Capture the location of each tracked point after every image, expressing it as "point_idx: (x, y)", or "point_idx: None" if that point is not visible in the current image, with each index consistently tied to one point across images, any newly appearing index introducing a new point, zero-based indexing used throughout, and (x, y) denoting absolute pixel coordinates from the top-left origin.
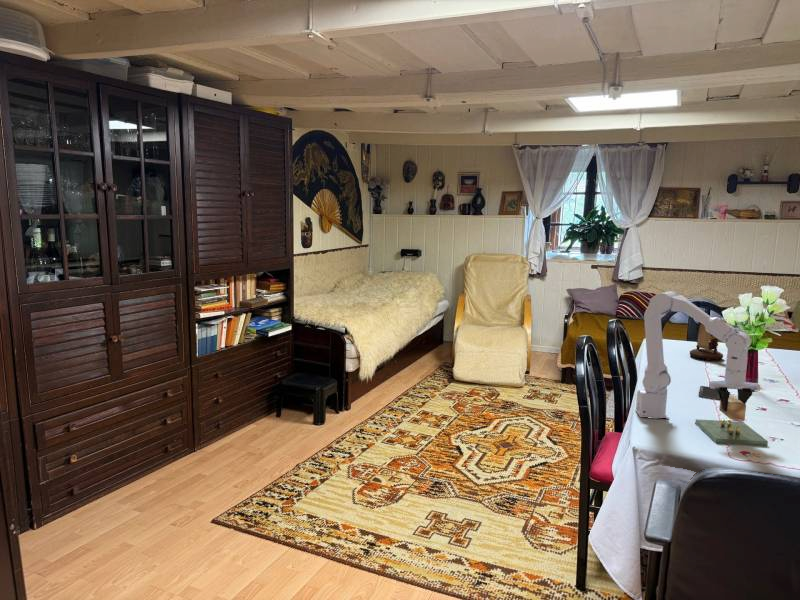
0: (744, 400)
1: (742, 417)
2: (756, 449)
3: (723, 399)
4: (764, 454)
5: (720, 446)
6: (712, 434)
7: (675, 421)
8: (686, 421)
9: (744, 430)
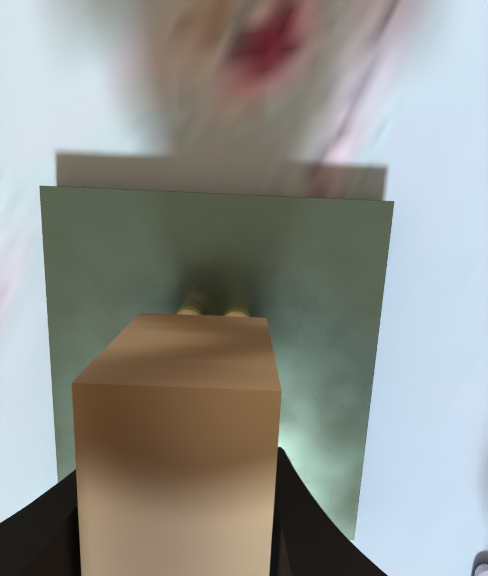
0: (32, 528)
1: (155, 321)
2: (156, 115)
3: (351, 548)
4: (141, 24)
5: (378, 143)
6: (379, 278)
7: (451, 538)
8: (382, 545)
9: None
